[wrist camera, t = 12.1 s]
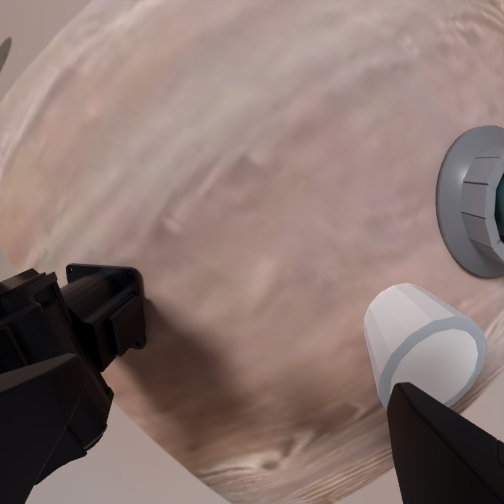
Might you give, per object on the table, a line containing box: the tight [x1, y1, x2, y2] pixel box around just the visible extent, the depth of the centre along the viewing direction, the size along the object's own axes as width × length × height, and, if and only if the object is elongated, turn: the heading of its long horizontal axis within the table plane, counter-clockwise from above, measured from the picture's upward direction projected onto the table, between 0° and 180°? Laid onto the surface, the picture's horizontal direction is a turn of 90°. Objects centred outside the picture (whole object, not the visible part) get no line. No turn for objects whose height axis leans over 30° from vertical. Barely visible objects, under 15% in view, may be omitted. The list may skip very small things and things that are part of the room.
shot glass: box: [364, 283, 487, 411], centre depth 17 cm, size 7×7×7 cm
